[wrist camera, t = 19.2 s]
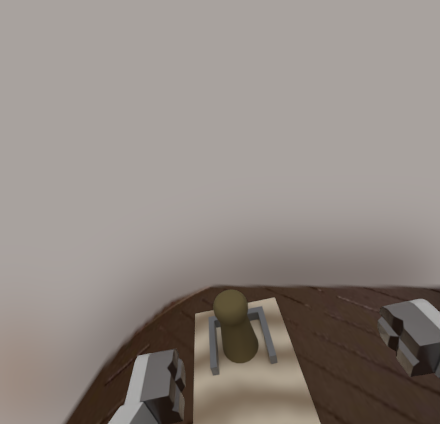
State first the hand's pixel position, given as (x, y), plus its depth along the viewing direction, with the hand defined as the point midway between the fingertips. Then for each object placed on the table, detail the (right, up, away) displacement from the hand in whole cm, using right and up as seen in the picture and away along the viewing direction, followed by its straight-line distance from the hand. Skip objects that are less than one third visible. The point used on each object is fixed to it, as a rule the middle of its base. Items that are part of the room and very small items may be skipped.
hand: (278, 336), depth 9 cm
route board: (+2, -19, +29) cm, 34 cm away
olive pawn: (+1, -17, +30) cm, 35 cm away
